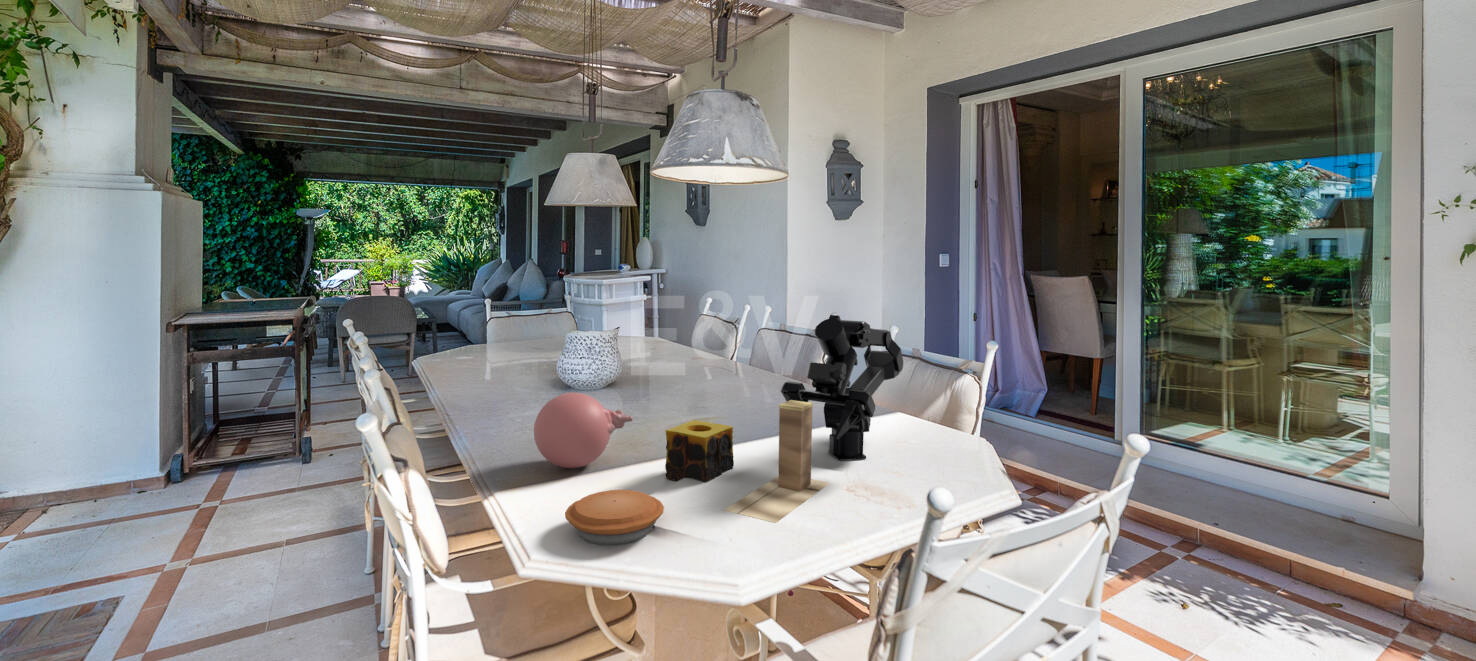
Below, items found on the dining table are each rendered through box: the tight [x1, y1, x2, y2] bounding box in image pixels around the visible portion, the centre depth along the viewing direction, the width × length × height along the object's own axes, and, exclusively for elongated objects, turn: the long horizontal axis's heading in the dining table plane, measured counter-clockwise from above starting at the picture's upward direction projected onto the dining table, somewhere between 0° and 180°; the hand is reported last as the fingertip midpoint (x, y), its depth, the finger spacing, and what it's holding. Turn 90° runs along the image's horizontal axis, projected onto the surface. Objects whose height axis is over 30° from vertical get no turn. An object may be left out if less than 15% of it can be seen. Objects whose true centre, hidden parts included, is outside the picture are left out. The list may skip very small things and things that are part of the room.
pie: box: [564, 489, 665, 546], centre depth 108 cm, size 16×16×5 cm
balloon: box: [533, 392, 634, 469], centre depth 139 cm, size 15×20×15 cm
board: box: [723, 476, 831, 524], centre depth 120 cm, size 22×10×1 cm, turn 149°
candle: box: [664, 419, 735, 483], centre depth 133 cm, size 10×10×10 cm
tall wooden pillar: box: [777, 400, 814, 492], centre depth 124 cm, size 5×5×16 cm
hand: (814, 434), depth 131 cm, fingers open, 9 cm apart
